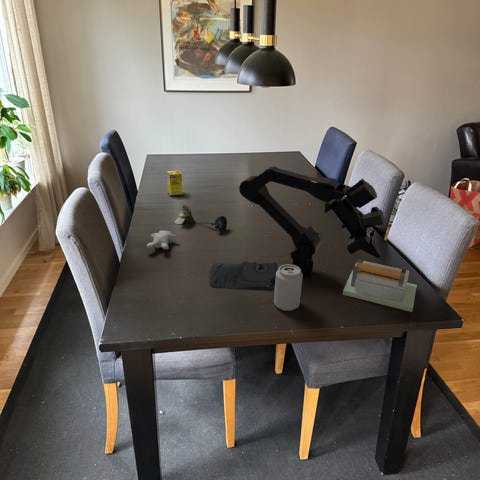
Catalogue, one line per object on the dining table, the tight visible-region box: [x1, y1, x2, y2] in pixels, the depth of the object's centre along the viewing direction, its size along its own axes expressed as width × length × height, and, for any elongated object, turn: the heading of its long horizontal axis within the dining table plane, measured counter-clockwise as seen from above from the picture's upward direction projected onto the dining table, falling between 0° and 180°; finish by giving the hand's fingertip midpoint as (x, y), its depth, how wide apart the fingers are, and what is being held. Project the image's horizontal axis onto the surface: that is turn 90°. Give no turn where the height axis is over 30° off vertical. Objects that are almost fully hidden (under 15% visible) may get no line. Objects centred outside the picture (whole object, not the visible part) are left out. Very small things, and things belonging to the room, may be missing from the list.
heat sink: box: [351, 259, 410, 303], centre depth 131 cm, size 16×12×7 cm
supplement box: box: [166, 170, 183, 198], centre depth 205 cm, size 6×6×11 cm
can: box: [273, 264, 303, 312], centre depth 122 cm, size 8×8×12 cm
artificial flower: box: [174, 204, 228, 233], centre depth 173 cm, size 9×22×10 cm, turn 58°
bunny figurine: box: [146, 230, 178, 250], centre depth 156 cm, size 10×5×15 cm
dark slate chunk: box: [209, 261, 278, 292], centre depth 137 cm, size 15×22×5 cm
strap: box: [354, 261, 405, 279], centre depth 130 cm, size 15×4×1 cm, turn 65°
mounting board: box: [342, 269, 418, 313], centre depth 132 cm, size 20×14×2 cm
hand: (379, 256), depth 129 cm, fingers closed
